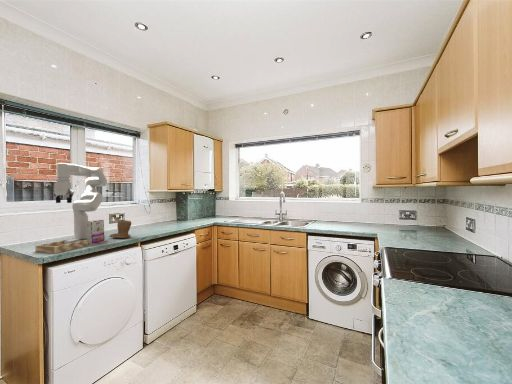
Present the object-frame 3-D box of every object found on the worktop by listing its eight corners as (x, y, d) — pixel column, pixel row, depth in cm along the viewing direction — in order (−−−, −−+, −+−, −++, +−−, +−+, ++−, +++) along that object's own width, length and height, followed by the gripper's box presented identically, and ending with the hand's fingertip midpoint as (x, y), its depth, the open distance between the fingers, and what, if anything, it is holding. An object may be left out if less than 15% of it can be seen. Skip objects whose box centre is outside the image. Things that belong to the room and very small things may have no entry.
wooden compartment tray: (69, 244, 178) (68, 239, 178) (87, 245, 174) (87, 239, 174) (35, 251, 157) (35, 245, 157) (55, 253, 153) (55, 246, 153)
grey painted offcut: (64, 244, 168) (64, 241, 168) (75, 242, 176) (75, 238, 176) (68, 245, 167) (68, 241, 167) (79, 242, 175) (79, 239, 175)
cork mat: (100, 241, 190) (100, 240, 190) (107, 241, 188) (107, 240, 188) (83, 244, 176) (83, 244, 176) (91, 245, 175) (91, 244, 175)
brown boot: (134, 236, 206) (134, 219, 206) (122, 239, 195) (122, 221, 195) (121, 236, 211) (121, 218, 211) (108, 238, 200) (108, 220, 200)
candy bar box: (99, 240, 189) (98, 219, 189) (104, 240, 187) (104, 219, 187) (86, 243, 178) (85, 221, 178) (91, 244, 177) (91, 221, 177)
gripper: (48, 179, 178) (49, 203, 179) (68, 179, 175) (68, 203, 175) (58, 180, 186) (59, 202, 186) (77, 179, 183) (78, 202, 183)
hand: (63, 202), depth 181 cm, fingers open, 9 cm apart
